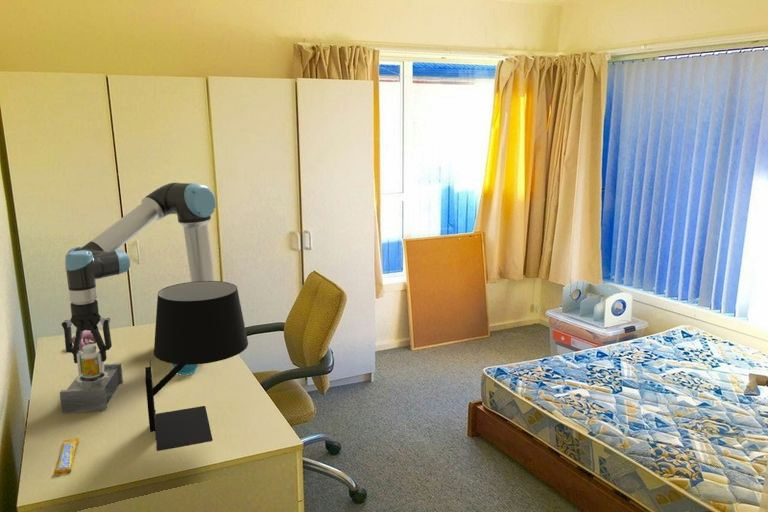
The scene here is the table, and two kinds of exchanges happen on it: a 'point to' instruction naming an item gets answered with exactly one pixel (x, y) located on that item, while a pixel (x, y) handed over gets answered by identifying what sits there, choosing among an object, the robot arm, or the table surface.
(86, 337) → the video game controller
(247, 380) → the table surface
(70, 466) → the candy bar
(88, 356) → the supplement bottle
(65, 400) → the grey block with hole
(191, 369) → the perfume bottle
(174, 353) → the table lamp
